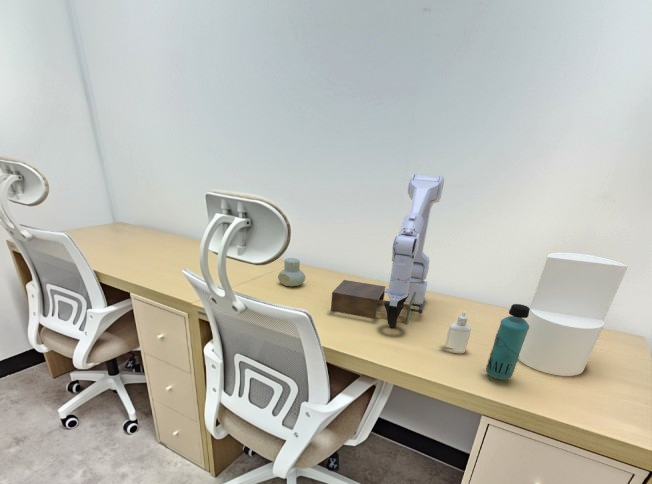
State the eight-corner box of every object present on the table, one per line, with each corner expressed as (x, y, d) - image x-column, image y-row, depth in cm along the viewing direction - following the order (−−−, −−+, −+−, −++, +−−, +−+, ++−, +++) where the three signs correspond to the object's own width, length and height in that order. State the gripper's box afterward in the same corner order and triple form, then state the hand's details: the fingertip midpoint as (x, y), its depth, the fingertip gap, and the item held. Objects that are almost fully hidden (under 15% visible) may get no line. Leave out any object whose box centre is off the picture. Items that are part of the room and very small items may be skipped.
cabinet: (382, 307, 140) (385, 286, 136) (374, 322, 129) (377, 299, 125) (342, 300, 145) (343, 279, 141) (330, 314, 133) (332, 292, 129)
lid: (404, 329, 125) (406, 317, 123) (401, 338, 119) (403, 326, 118) (382, 325, 127) (384, 313, 125) (378, 333, 122) (380, 321, 120)
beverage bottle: (503, 371, 104) (526, 300, 94) (515, 385, 99) (542, 311, 89) (479, 371, 104) (500, 300, 94) (490, 385, 98) (514, 311, 88)
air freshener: (308, 285, 158) (309, 260, 153) (294, 290, 152) (294, 265, 147) (289, 278, 164) (289, 255, 159) (274, 283, 159) (274, 258, 154)
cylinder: (512, 340, 121) (542, 249, 107) (576, 352, 115) (617, 257, 102) (517, 367, 106) (553, 266, 93) (590, 381, 101) (640, 276, 88)
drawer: (423, 312, 135) (427, 293, 132) (418, 328, 124) (422, 308, 121) (370, 303, 141) (373, 285, 138) (361, 318, 130) (363, 298, 126)
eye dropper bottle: (461, 356, 111) (471, 317, 105) (441, 350, 114) (451, 311, 108) (466, 351, 114) (477, 313, 108) (447, 344, 117) (457, 307, 111)
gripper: (391, 268, 122) (385, 309, 129) (382, 282, 110) (375, 326, 117) (414, 271, 120) (407, 312, 127) (407, 286, 108) (399, 331, 115)
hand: (393, 319), depth 122 cm, fingers open, 7 cm apart
